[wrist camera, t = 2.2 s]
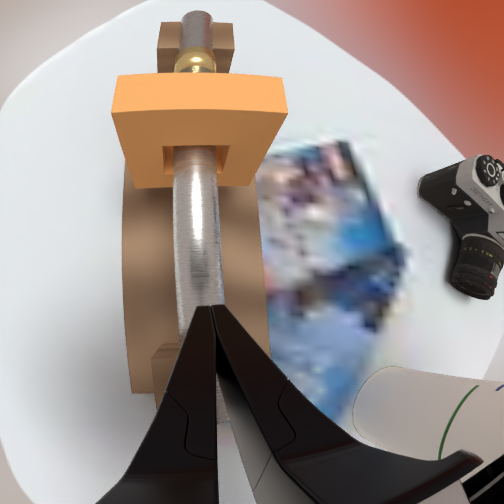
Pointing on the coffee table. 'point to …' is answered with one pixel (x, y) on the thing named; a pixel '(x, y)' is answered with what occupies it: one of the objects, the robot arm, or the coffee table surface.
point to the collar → (197, 122)
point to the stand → (162, 253)
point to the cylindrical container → (431, 415)
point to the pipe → (197, 198)
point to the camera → (472, 219)
